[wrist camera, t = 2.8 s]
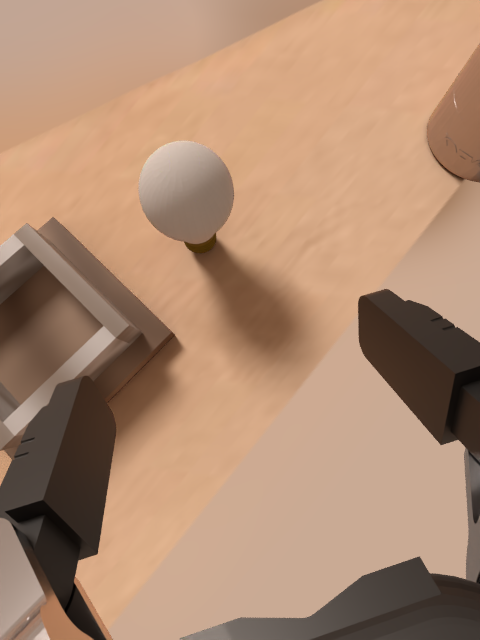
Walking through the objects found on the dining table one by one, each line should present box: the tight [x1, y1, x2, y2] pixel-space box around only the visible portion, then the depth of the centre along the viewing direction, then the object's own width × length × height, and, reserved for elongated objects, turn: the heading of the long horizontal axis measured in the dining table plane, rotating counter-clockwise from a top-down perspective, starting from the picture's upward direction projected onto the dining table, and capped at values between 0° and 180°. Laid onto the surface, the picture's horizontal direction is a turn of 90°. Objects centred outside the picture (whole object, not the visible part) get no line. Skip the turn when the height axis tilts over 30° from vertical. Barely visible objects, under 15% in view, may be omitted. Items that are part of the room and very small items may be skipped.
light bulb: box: [139, 141, 234, 253], centre depth 23 cm, size 6×6×10 cm
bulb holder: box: [0, 217, 175, 460], centre depth 24 cm, size 14×14×4 cm
